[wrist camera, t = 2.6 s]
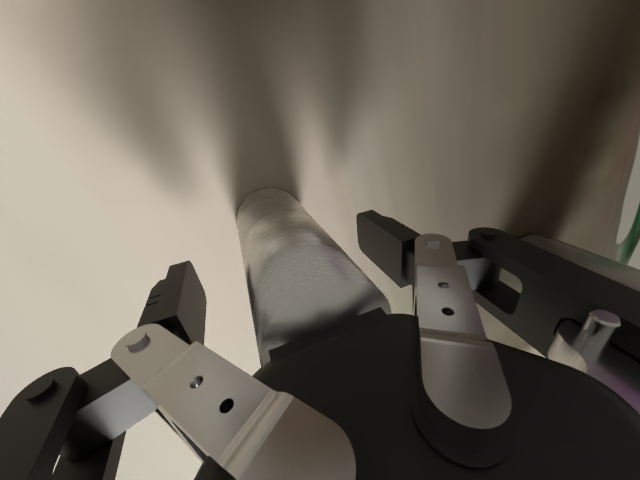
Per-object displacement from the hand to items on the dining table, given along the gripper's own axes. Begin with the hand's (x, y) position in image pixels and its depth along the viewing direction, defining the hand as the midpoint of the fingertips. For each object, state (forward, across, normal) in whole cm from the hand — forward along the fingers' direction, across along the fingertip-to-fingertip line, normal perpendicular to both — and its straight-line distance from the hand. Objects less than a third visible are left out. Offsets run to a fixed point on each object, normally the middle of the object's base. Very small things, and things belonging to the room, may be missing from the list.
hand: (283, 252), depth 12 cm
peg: (+4, 0, 0) cm, 4 cm away
